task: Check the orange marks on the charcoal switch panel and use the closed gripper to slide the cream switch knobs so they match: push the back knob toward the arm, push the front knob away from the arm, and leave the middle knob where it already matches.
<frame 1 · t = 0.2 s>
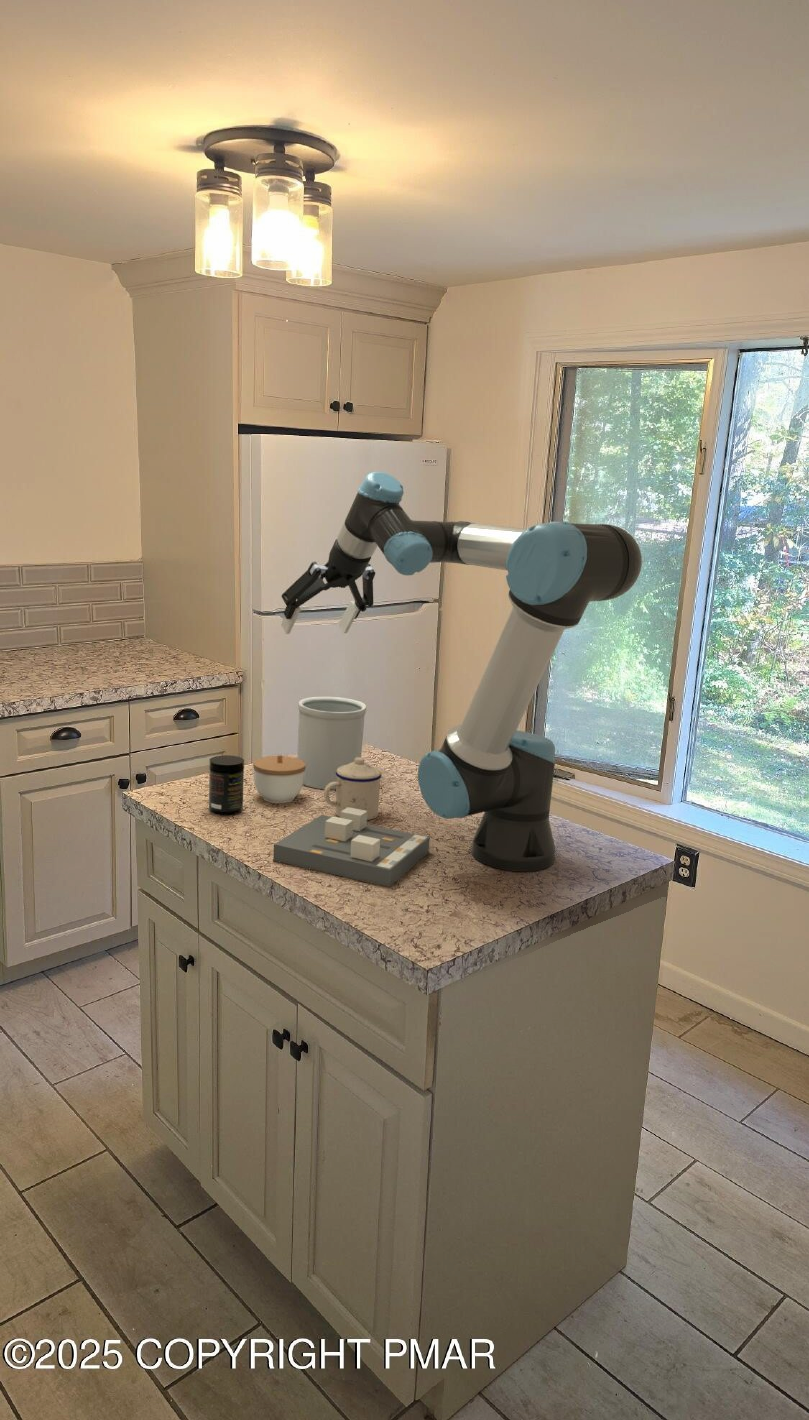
hand: (314, 629, 198), 35 cm above the counter, tool tilted 35°, fingers open, 13 cm apart
teacup with lid: (350, 816, 195), on the counter
switch panel: (352, 856, 174), on the counter
middle switch: (338, 828, 174), point 5 cm above the counter, slide at 8.0 cm
utensil holder: (328, 781, 216), on the counter
lidded jar: (278, 799, 202), on the counter
front switch: (365, 848, 165), point 5 cm above the counter, slide at 0.0 cm
back switch: (353, 819, 179), point 5 cm above the counter, slide at 8.0 cm
supplement container: (225, 811, 193), on the counter
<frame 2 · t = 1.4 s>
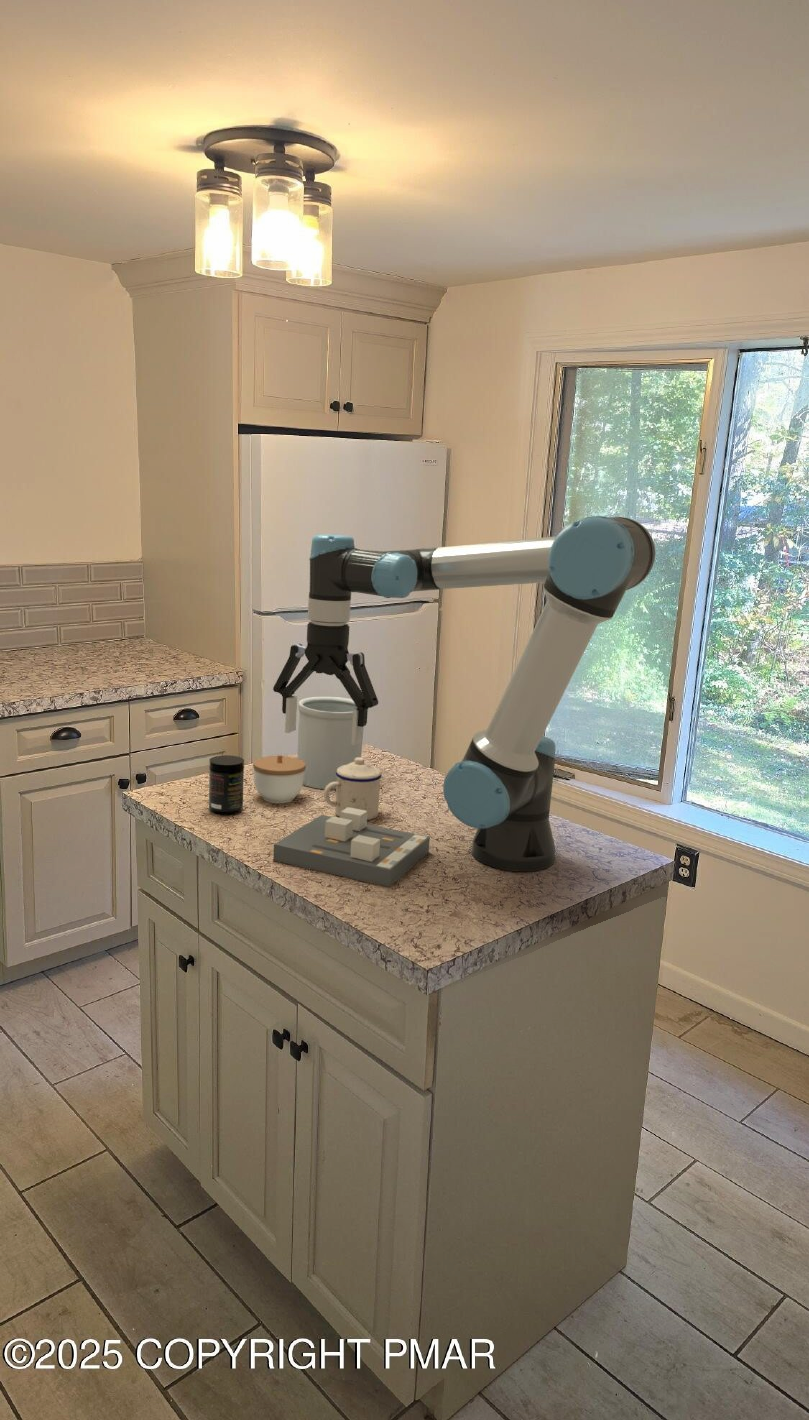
hand: (322, 737, 179), 19 cm above the counter, tool pointing down, fingers open, 13 cm apart
nothing on the counter moved.
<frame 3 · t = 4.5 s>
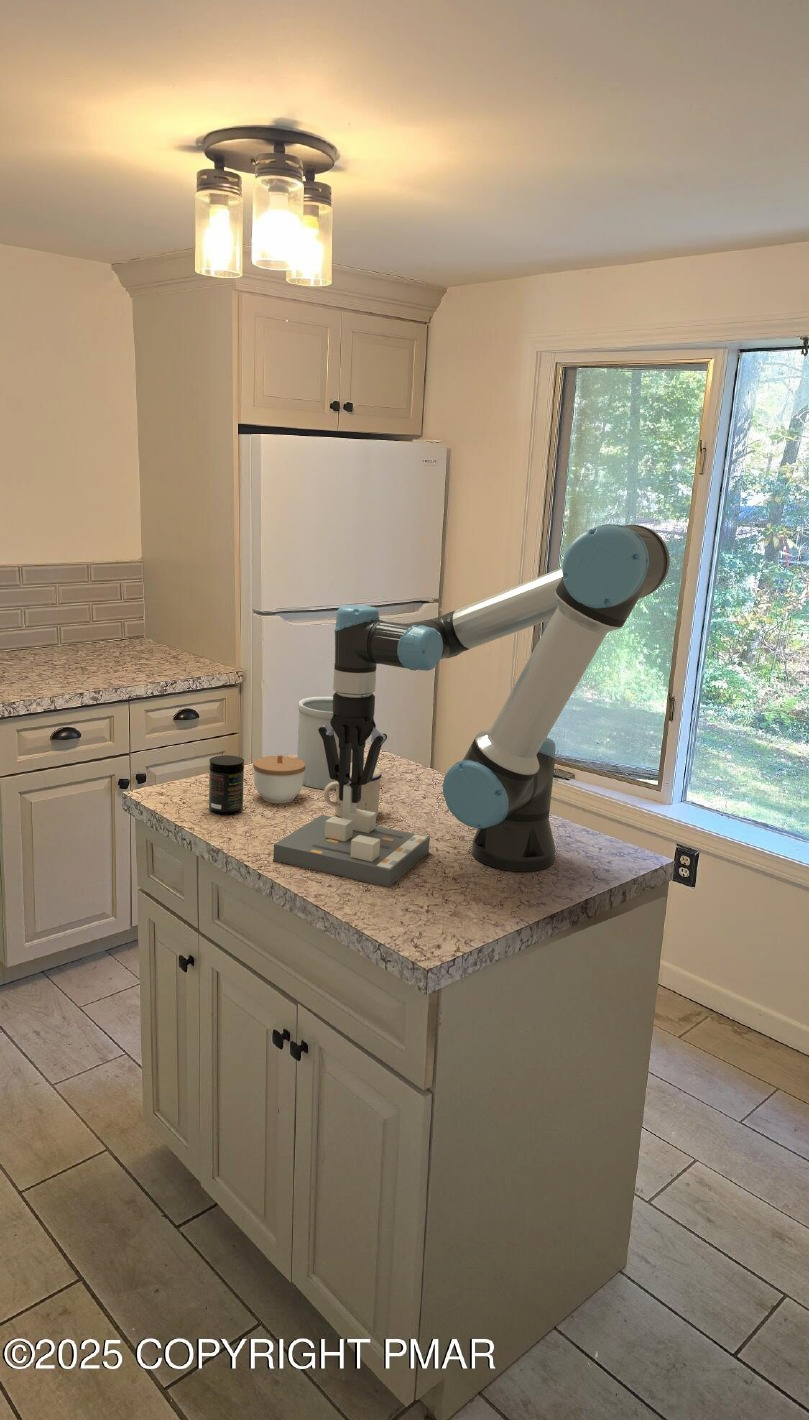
hand: (349, 818, 179), 5 cm above the counter, tool pointing down, fingers closed
back switch: (362, 820, 178), point 5 cm above the counter, slide at 6.1 cm, touching gripper
everything else where it was.
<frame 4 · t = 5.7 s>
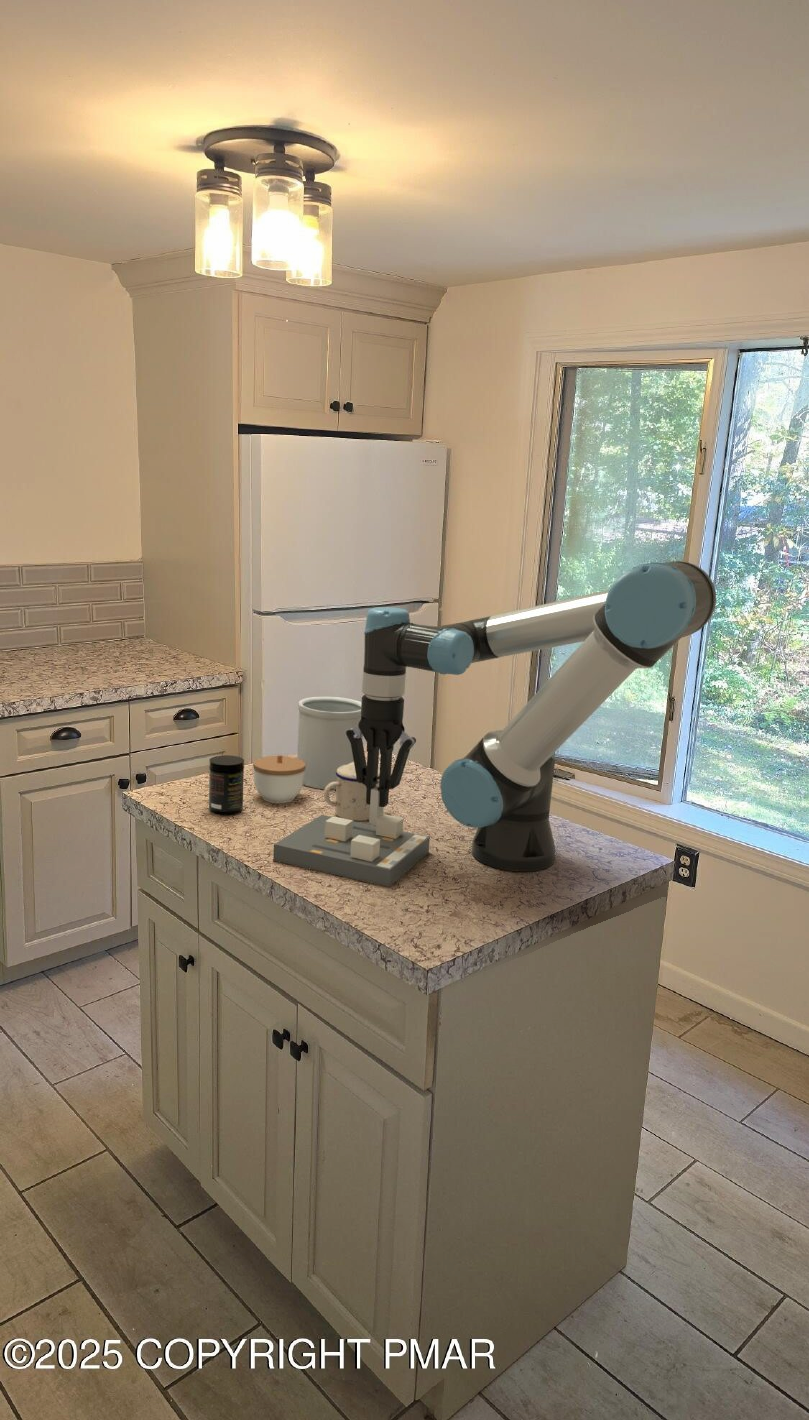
hand: (375, 822, 177), 5 cm above the counter, tool pointing down, fingers closed
back switch: (389, 826, 176), point 5 cm above the counter, slide at 0.8 cm, touching gripper
everything else where it was.
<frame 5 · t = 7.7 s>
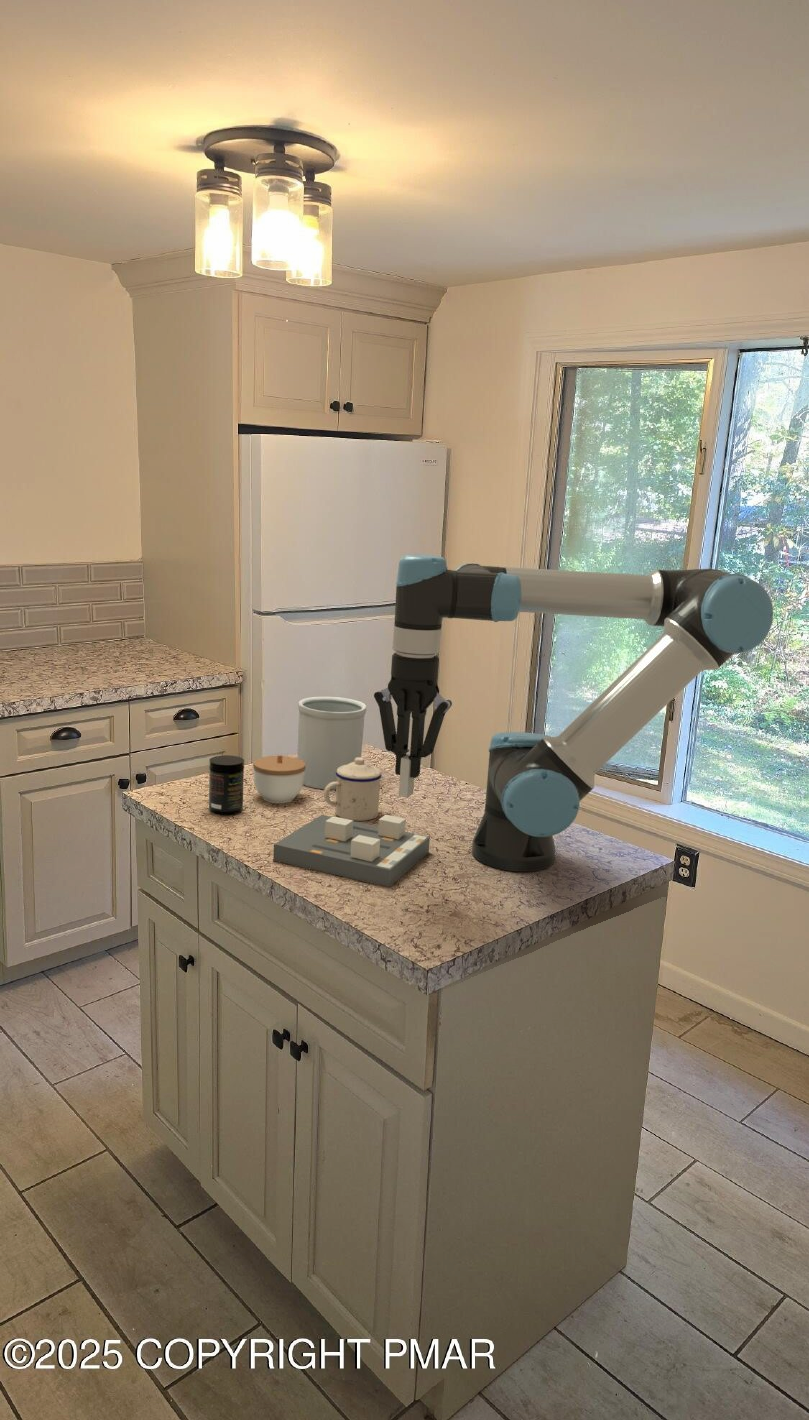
hand: (405, 794, 160), 15 cm above the counter, tool pointing down, fingers closed
back switch: (392, 826, 176), point 5 cm above the counter, slide at 0.3 cm
everything else where it was.
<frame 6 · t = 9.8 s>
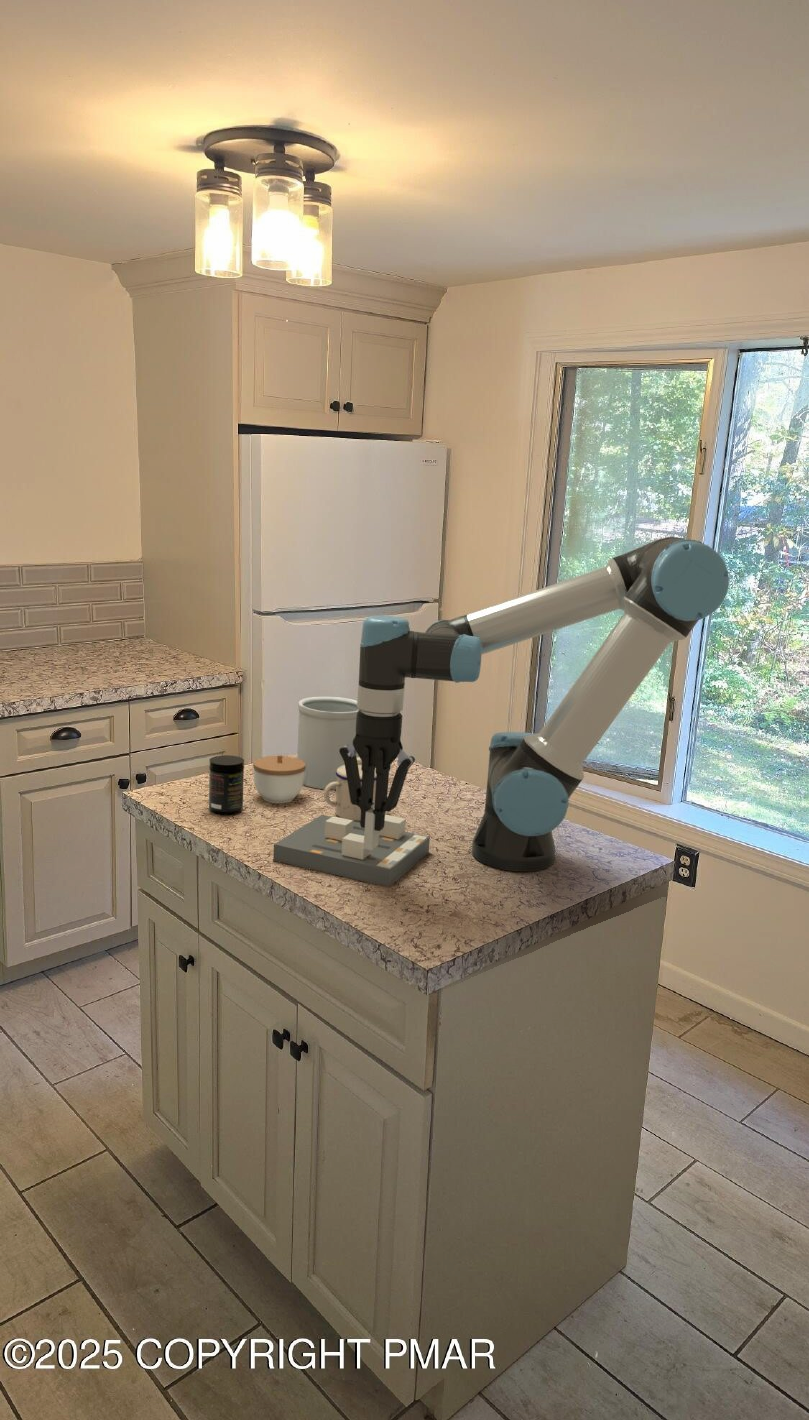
hand: (370, 846, 165), 5 cm above the counter, tool pointing down, fingers closed
front switch: (356, 846, 166), point 5 cm above the counter, slide at 1.7 cm, touching gripper
everything else where it was.
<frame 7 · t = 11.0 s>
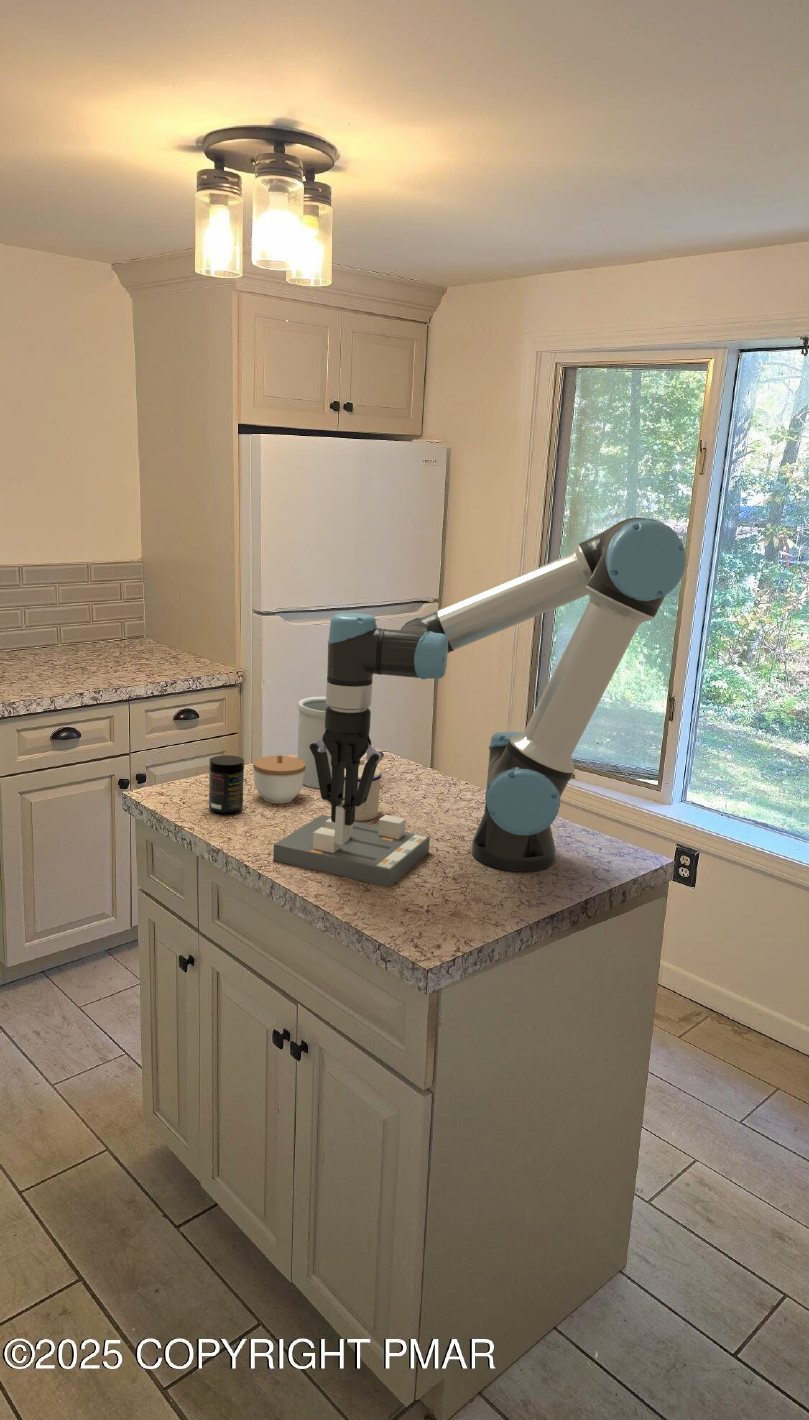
hand: (341, 841, 167), 5 cm above the counter, tool pointing down, fingers closed
front switch: (327, 840, 168), point 5 cm above the counter, slide at 7.2 cm, touching gripper
everything else where it was.
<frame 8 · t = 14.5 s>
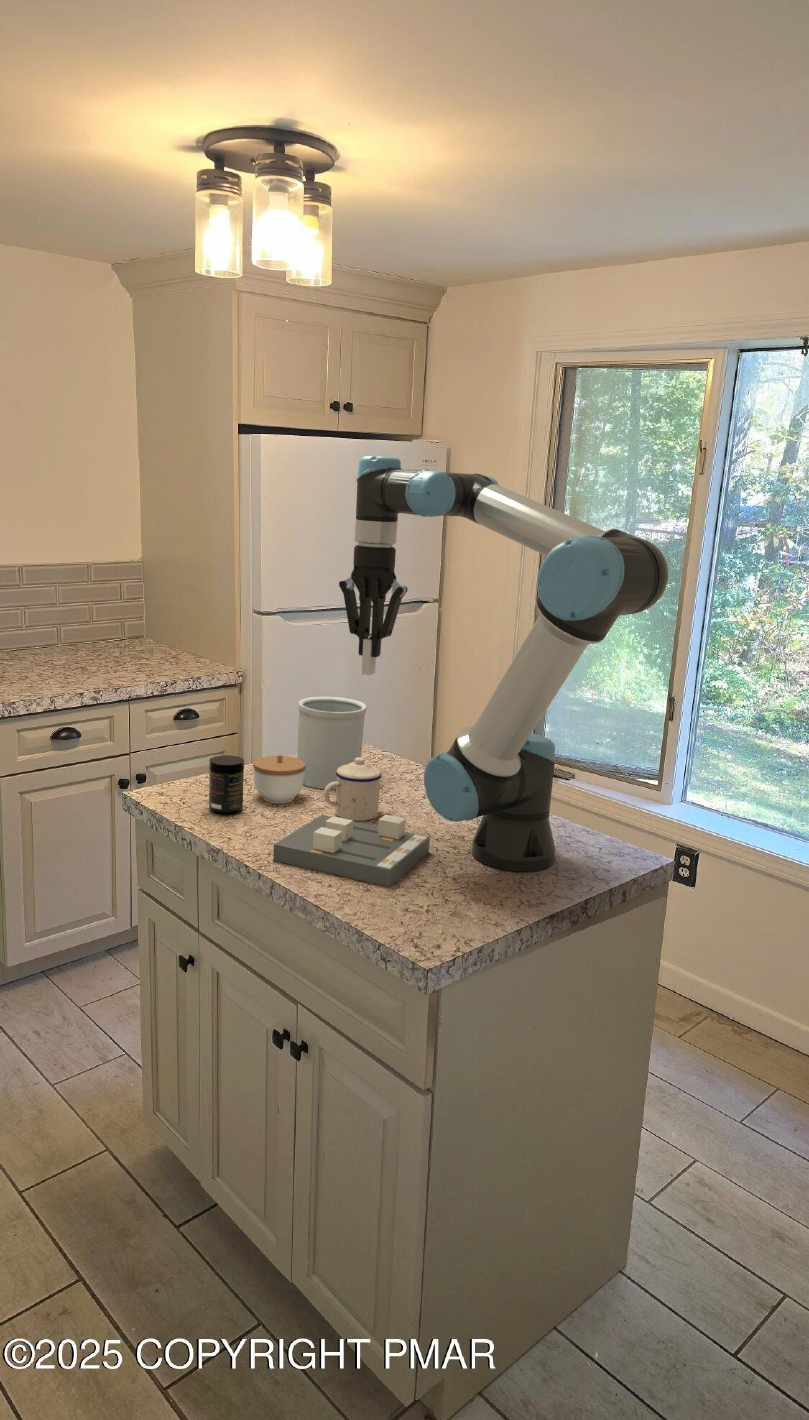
hand: (368, 673, 181), 30 cm above the counter, tool pointing down, fingers closed
front switch: (327, 840, 168), point 5 cm above the counter, slide at 7.2 cm
everything else where it was.
at the end: front switch slide at 7.2 cm; middle switch slide at 8.0 cm; back switch slide at 0.3 cm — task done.
